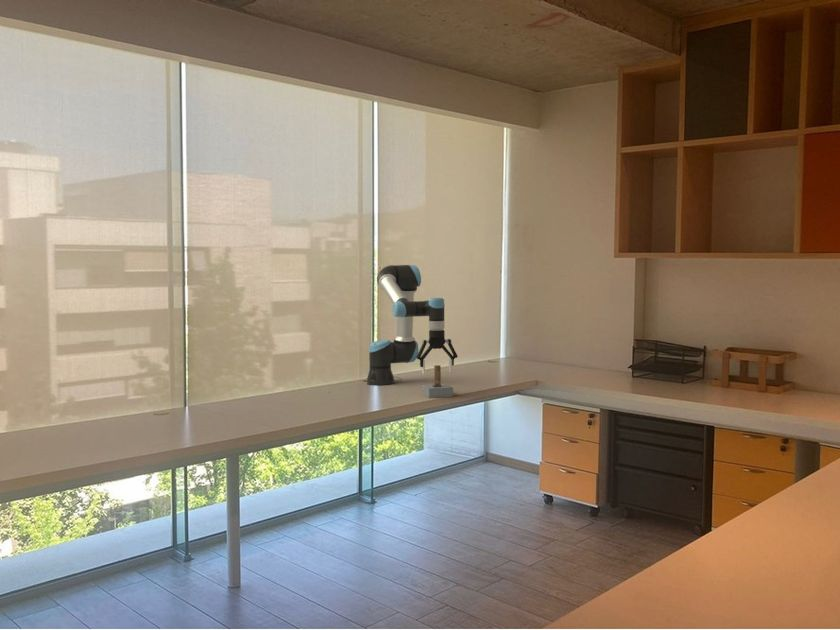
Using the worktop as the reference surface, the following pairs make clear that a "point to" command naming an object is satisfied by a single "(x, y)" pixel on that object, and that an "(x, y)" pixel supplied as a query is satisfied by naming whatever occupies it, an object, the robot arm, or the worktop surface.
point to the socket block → (437, 391)
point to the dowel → (437, 375)
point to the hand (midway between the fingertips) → (437, 373)
